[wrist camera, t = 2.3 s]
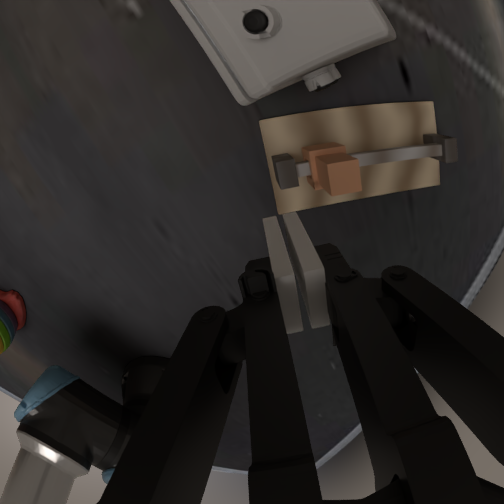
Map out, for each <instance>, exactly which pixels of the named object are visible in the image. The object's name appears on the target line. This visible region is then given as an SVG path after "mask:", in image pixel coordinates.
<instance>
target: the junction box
mask: <svg viewBox="0 0 504 504" xmlns="http://www.w3.org/2000/svg"><path fill="white" fill-rule="evenodd" d="M170 2H171V3H172V4H173V6H174V7H175V9H176V10H177V11H178V13H179V14H180V16H181V17H182V19H183V20H184V21H185V23H186V24H187V26H188V27H189V29H190V30H191V32H192V33H193V35H194V36H195V37H196V39H197V40H198V42H199V43H200V45H201V46H202V48H203V49H204V51H205V52H206V54H207V55H208V57H209V59H210V60H211V62H212V63H213V65H214V66H215V68H216V69H217V71H218V72H219V74H220V76H221V77H222V79H223V80H224V82H225V83H226V85H227V87H228V88H229V90H230V91H231V93H232V95H233V96H234V98H235V99H236V100H237V102H238V103H239V104H241V105H244V106H247V105H249V104H251V103H253V102H255V101H257V100H259V99H261V98H263V97H265V96H267V95H270V94H272V93H274V92H276V91H278V90H280V89H283V88H285V87H287V86H289V85H292V84H294V83H296V82H299V81H301V80H304V81H306V82H304V83H305V85H306V86H307V88H308V90H309V92H310V91H313V90H314V91H316V92H319V91H322V90H324V89H326V88H328V87H330V85H332V84H334V83H336V82H337V81H338V78H340V77H341V75H340V73H339V72H338V70H337V68H335V64H334V63H336V62H338V61H340V60H343V59H345V58H348V57H350V56H352V55H355V54H357V53H360V52H362V51H365V50H368V49H370V48H373V47H375V46H378V45H381V44H384V43H386V42H389V41H392V40H395V39H396V33H395V30H394V29H393V27H392V25H391V23H390V22H389V20H388V18H387V16H386V15H385V13H384V12H383V10H382V8H381V7H380V5H379V3H378V2H377V0H170ZM334 68H335V69H334Z"/></svg>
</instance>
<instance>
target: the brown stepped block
mask: <svg viewBox="0 0 504 504" xmlns="http://www.w3.org/2000/svg"><path fill="white" fill-rule="evenodd" d="M301 149H302V154H303V160H304V161H307V160H308V161H309V166H310V172H311V175H308V176H306V177H307V182H308V183H309V184H310V185H311V186H312V187H313V189H314V190H320V189H324V190H325V191H326V192H327V193H329V194H330V195H331V196H337V195H343V194H348V193H354V192H359V191H362V185H361V176H360V168H359V160H358V159H357V158H354V157H352V156H350V155H348V154H346V147H345V146H344V145H342V144H339V143H336V142H331V143H324V144H318V145H312V146H306V147H301Z"/></svg>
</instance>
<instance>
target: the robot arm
mask: <svg viewBox="0 0 504 504" xmlns="http://www.w3.org/2000/svg"><path fill="white" fill-rule="evenodd" d="M283 220H284V226H285V231H286V236H287V242H288V247H289V253H290V258H291V261H292V265H293V268H294V271H295V274H296V277H297V281H298V284H299V287H300V290H301V294H302V297H303V300H304V303H305V307H306V310H307V313H308V317H309V320H310V324H311V327H312V329H314V328H318V327H323V326H327V325H330V320H329V317H330V319H331V322H332V333H333V346H336V345H337V348H338V351H339V354H340V357H341V360H342V363H343V366H344V370H345V373H346V376H347V379H348V383H349V386H350V389H351V392H352V396H353V399H354V402H355V406H356V409H357V412H358V416H359V419H360V423H361V426H362V430H363V433H364V436H365V441H366V444H367V447H368V451H369V455H370V459H371V463H372V466H373V470H374V475H375V490H376V492H375V493H373V494H371V495H369V496H367V497H366V498H363V499H358V500H322V496H321V491H320V486H319V481H318V476H317V471H316V466H315V461H314V457H313V453H312V449H311V444H310V439H309V434H308V429H307V424H306V420H305V415H304V410H303V405H302V401H301V396H300V391H299V387H298V382H297V377H296V373H295V368H294V364H293V359H292V355H291V350H290V346H289V341H288V336H287V334H290V333H295V332H300V331H303V325H302V318H301V312H300V306H299V300H298V294H297V288H296V282H295V276H294V272H293V269H292V265H291V262H290V259H289V256H288V252H287V249H286V246H285V243H284V240H283V236H282V233H281V230H280V227H279V224H278V221H277V217H276V216H273V217H268V218H263V224H264V229H265V234H266V240H267V245H268V251H269V256H270V257H266V258H261V259H256V260H251V261H249V262H248V264H247V265H246V266H245V272H244V273H243V274H242V275H241V276H240V277H239V279H238V283H239V286H240V290H241V293H242V297H243V303H242V304H241V305H239V306H238V307H236V308H234V309H232V310H230V311H227V312H226V311H225V310H224V308H222V307H220V306H209V307H205V308H202V309H200V310H199V311H197V312H196V313H195V314H194V315H193V317H192V318H191V320H190V322H189V324H188V326H187V328H186V330H185V332H184V333H183V335H182V337H181V339H180V341H179V343H178V345H177V347H176V349H175V351H174V353H173V354H172V356H171V358H170V359H166V358H162V357H154V356H148V357H140V358H137V359H135V360H133V361H131V362H130V363H129V364H128V365H127V366H126V368H125V371H124V373H123V376H122V397H123V406H122V405H121V404H119V403H117V402H116V401H114V400H112V399H111V398H109V397H107V396H106V395H104V394H102V393H101V392H99V391H98V390H96V389H95V388H93V387H92V386H90V385H89V384H87V383H86V382H84V381H83V380H81V379H80V377H79V376H75V375H73V374H72V373H70V372H69V371H67V370H65V369H64V368H62V367H61V366H58V365H53V366H50V367H48V368H47V369H46V370H45V371H44V372H43V374H42V375H41V376H40V377H39V378H38V379H37V381H36V382H35V383H34V384H33V386H32V387H31V388H30V390H29V391H28V392H27V394H26V395H25V397H24V399H23V400H22V401H21V403H20V404H19V406H18V407H17V409H16V411H15V412H14V417H15V418H16V419H17V421H18V422H21V423H20V425H19V427H18V429H17V431H16V433H17V435H18V439H19V441H20V445H21V449H20V451H19V453H18V456H17V458H16V460H15V463H14V465H13V467H12V470H11V472H10V475H9V478H8V480H7V483H6V485H5V488H4V491H3V494H2V497H1V499H0V504H66V503H67V500H68V496H69V494H70V491H71V488H72V485H73V482H74V479H75V478H77V477H79V476H82V475H86V474H88V472H89V470H90V467H91V465H93V466H95V467H97V468H99V469H101V470H103V472H102V478H103V481H104V482H105V483H106V484H107V486H106V488H105V490H104V493H103V495H102V497H101V499H100V501H99V502H98V503H97V504H200V503H201V500H202V497H203V494H204V491H205V487H206V484H207V481H208V478H209V475H210V472H211V468H212V465H213V462H214V459H215V455H216V452H217V449H218V446H219V442H220V439H221V436H222V432H223V429H224V426H225V422H226V419H227V416H228V412H229V409H230V405H231V402H232V399H233V395H234V392H235V388H236V385H237V381H238V378H239V375H240V371H241V368H242V360H245V359H246V366H247V383H248V401H249V418H250V434H251V450H252V465H251V466H250V467H249V471H248V485H249V486H248V487H249V504H504V488H503V487H500V486H498V485H496V484H493V483H491V482H489V481H486V480H484V479H482V478H480V477H478V476H476V473H475V471H474V469H473V466H472V464H471V461H470V459H469V457H468V455H467V452H466V450H465V448H464V445H463V443H462V441H461V439H460V437H459V435H458V432H457V430H456V428H455V426H454V424H453V423H452V421H451V420H450V419H449V418H448V417H446V416H442V417H441V416H439V415H438V414H437V413H436V411H435V409H434V407H433V405H432V403H431V401H430V399H429V397H428V395H427V393H426V391H425V389H424V387H423V385H422V382H421V381H420V378H419V377H418V375H417V373H416V371H415V369H416V370H417V371H418V372H419V373H420V374H421V375H422V376H423V377H424V378H425V379H426V381H427V382H428V383H429V384H430V385H431V386H432V387H433V388H434V389H435V390H436V392H437V393H438V394H439V395H440V396H441V397H442V398H443V399H444V400H445V401H446V402H447V404H448V405H449V406H450V407H451V408H452V409H453V410H454V411H455V413H456V414H457V415H458V416H459V417H460V418H461V420H462V421H463V422H464V423H465V424H466V425H467V426H468V427H469V429H470V430H471V431H472V432H473V433H474V434H475V435H476V437H477V438H478V439H479V440H480V441H481V443H482V444H483V445H484V446H485V447H486V448H487V449H488V451H489V452H490V453H491V454H492V455H493V456H494V457H495V458H496V459H497V460H498V461H499V462H500V463H501V464H502V465H503V466H504V337H503V336H501V335H500V334H499V333H498V332H496V331H495V330H494V329H492V328H491V327H490V326H489V325H487V324H486V323H485V322H484V321H482V320H481V319H480V318H478V317H477V316H476V315H474V314H473V313H472V312H470V311H469V310H468V309H466V308H465V307H464V306H462V305H461V304H460V303H458V302H457V301H456V300H454V299H453V298H452V297H450V296H449V295H447V294H446V293H445V292H443V291H442V290H440V289H439V288H438V287H436V286H435V285H433V284H432V283H431V282H429V281H428V280H426V279H425V278H423V277H422V276H420V275H419V274H418V273H416V272H415V271H413V270H412V269H410V268H408V267H405V266H399V265H397V266H392V267H388V268H386V269H385V270H383V272H382V278H373V279H371V278H363V277H362V275H361V274H360V273H359V272H358V271H357V270H354V269H351V268H350V267H349V265H348V264H347V262H346V260H345V259H344V257H343V256H342V254H341V253H340V251H339V250H338V248H337V247H336V246H334V245H332V244H330V243H328V244H324V245H319V246H313V244H312V242H311V240H310V238H309V236H308V234H307V233H306V231H305V229H304V227H303V225H302V223H301V221H300V219H299V217H298V215H297V213H296V212H292V213H287V214H283ZM411 315H412V316H413V317H414V318H415V319H414V318H413V317H412V316H411ZM413 366H414V367H413ZM414 368H415V369H414Z"/></svg>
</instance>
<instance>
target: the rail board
mask: <svg viewBox="0 0 504 504" xmlns="http://www.w3.org/2000/svg"><path fill="white" fill-rule="evenodd" d="M259 125H260V129H261V134H262V138H263V143H264V147H265V152H266V157H267V162H268V166H269V171H270V176H271V181H272V186H273V191H274V196H275V201H276V206H277V211H278V214H284V213H289V212H294V211H299V210H304V209H309V208H314V207H319V206H324V205H329V204H334V203H340V202H345V201H350V200H355V199H361V198H366V197H372V196H377V195H383V194H388V193H394V192H400V191H406V190H411V189H417V188H423V187H429V186H435V185H440V173H439V161H442V162H445V163H450V162H458V156H457V140H456V138H453V137H449V136H444V135H439V134H437V130H436V121H435V113H434V105H433V102H432V101H424V102H399V103H383V104H371V105H360V106H350V107H341V108H333V109H325V110H318V111H311V112H304V113H298V114H292V115H286V116H280V117H275V118H269V119H264V120H259ZM331 142H336V143H339V144H342V145H344V146H345V147H346V154H348V155H350V156H352V157H354V158H357V159H358V160H359V168H360V176H361V185H362V191H359V192H354V193H348V194H343V195H337V196H331V195H330V194H329V193H327V192H326V191H325V190H324V189H320V190H314V189H313V187H312V186H311V185H310V184H309V183H308V182H307V177H306V176H308V175H311V172H310V166H309V161H308V160H307V161H304V160H303V154H302V149H301V147H306V146H312V145H318V144H324V143H331Z"/></svg>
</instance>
